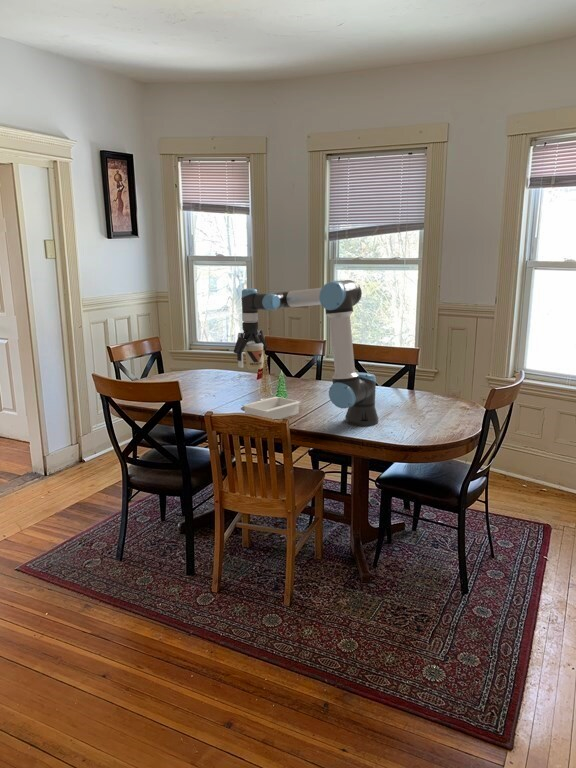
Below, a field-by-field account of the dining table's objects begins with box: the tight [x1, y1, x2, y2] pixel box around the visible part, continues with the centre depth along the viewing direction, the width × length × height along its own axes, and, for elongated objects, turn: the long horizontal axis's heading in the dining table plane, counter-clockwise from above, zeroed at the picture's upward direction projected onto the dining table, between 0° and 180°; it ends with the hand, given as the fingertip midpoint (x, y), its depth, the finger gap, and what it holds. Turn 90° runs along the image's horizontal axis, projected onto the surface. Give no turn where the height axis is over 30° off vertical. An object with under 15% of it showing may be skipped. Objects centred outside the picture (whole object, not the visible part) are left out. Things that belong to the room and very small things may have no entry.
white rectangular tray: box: [241, 396, 303, 420], centre depth 271 cm, size 23×17×6 cm
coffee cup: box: [244, 341, 264, 371], centre depth 279 cm, size 9×9×12 cm
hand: (251, 365), depth 278 cm, fingers open, 13 cm apart
